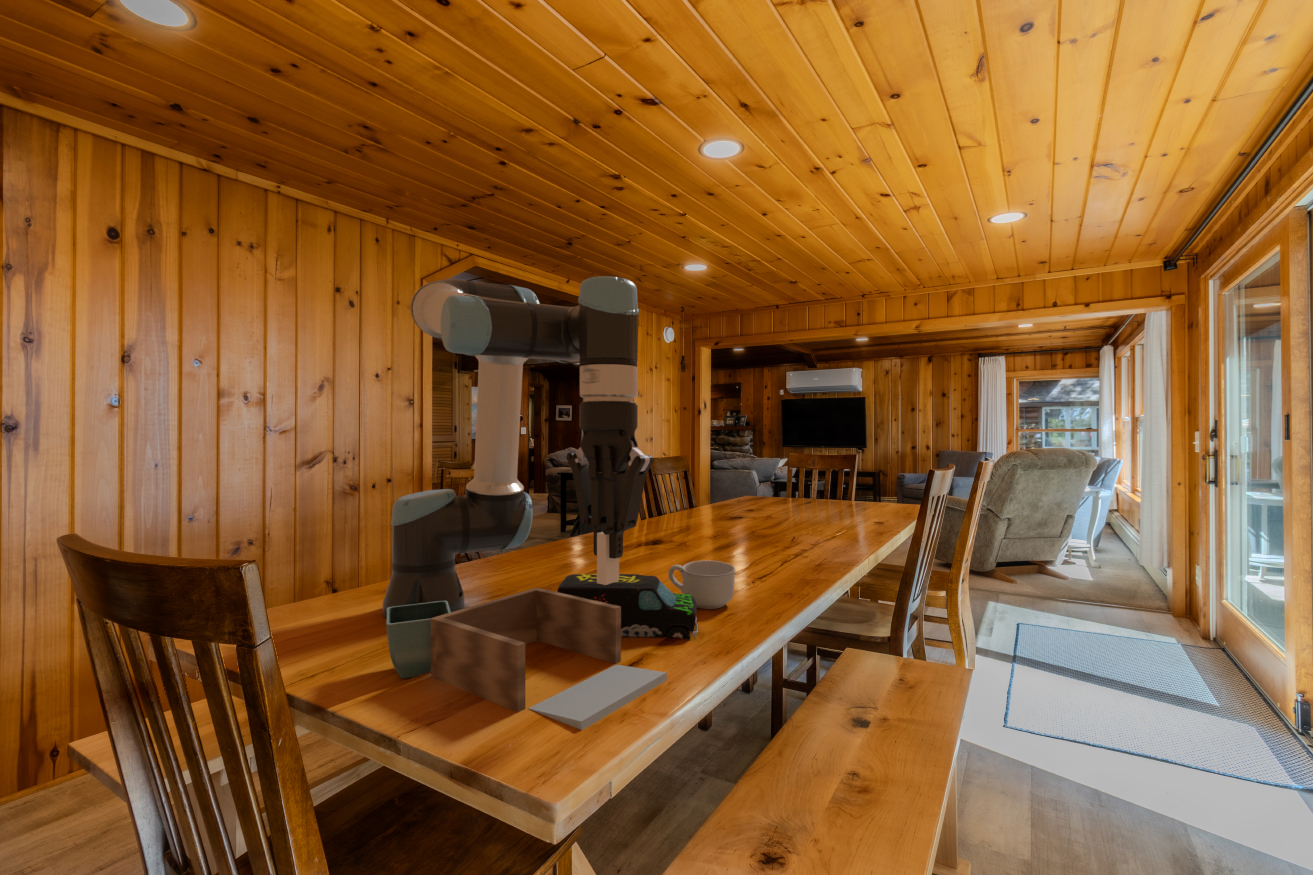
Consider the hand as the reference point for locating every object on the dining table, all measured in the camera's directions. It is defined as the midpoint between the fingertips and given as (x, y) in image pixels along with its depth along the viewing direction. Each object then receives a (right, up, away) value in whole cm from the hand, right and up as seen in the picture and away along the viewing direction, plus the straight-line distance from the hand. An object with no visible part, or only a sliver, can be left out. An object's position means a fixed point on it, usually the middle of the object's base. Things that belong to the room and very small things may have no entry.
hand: (608, 581), depth 79 cm
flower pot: (-29, -16, +11) cm, 35 cm away
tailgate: (-5, -15, +4) cm, 16 cm away
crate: (-12, -16, +9) cm, 22 cm away
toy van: (+1, -16, +27) cm, 32 cm away
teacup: (+16, -16, +46) cm, 51 cm away
